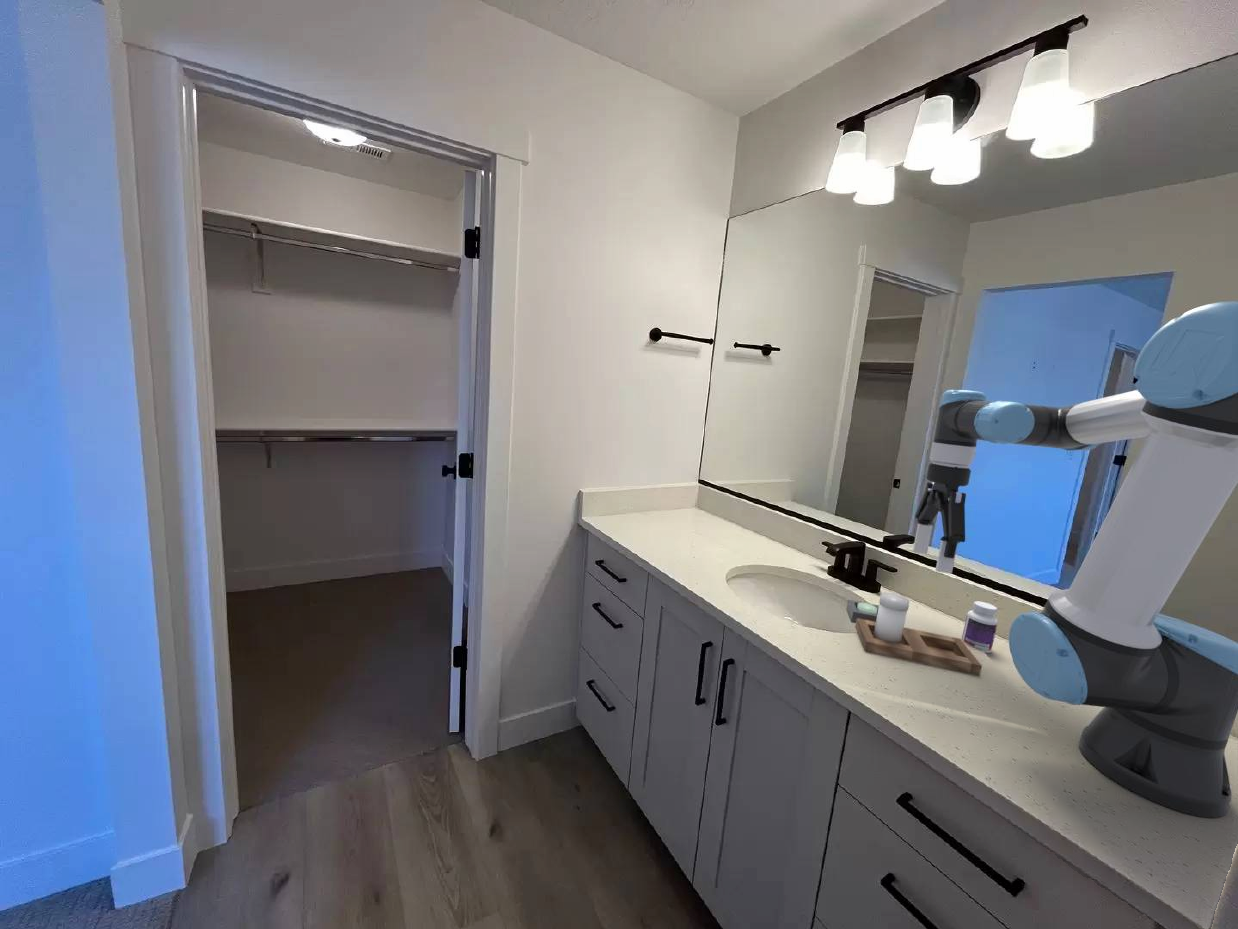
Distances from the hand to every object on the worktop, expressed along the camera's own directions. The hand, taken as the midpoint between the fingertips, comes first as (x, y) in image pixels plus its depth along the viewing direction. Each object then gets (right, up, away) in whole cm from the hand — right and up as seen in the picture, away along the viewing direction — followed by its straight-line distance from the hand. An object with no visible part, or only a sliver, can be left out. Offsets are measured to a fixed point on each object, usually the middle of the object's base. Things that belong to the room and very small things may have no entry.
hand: (930, 561), depth 109 cm
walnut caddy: (-8, -18, -6) cm, 20 cm away
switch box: (-11, -15, +6) cm, 20 cm away
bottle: (-12, -16, -5) cm, 21 cm away
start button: (-11, -14, +6) cm, 19 cm away
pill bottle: (+10, -19, 0) cm, 21 cm away
